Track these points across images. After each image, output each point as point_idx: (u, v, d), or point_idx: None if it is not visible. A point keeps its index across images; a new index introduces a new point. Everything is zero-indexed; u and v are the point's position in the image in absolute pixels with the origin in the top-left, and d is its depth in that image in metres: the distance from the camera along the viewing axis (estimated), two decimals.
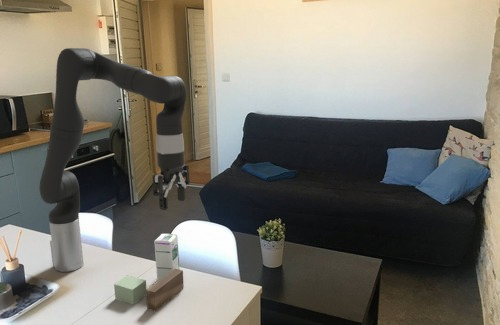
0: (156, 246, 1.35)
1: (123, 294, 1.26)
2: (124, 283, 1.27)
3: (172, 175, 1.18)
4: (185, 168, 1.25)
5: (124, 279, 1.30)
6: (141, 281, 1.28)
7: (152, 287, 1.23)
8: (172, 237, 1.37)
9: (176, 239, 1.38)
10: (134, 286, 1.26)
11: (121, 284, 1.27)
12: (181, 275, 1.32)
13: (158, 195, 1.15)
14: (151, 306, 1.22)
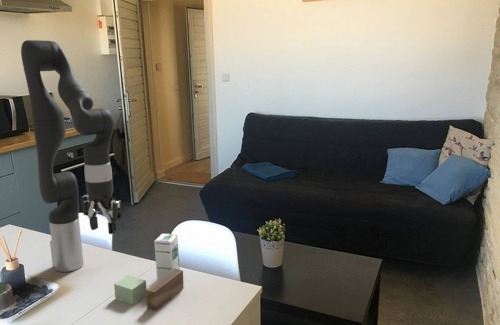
0: (156, 246, 1.35)
1: (122, 294, 1.26)
2: (124, 283, 1.27)
3: None
4: None
5: (124, 279, 1.30)
6: (141, 281, 1.28)
7: (152, 287, 1.23)
8: (172, 237, 1.37)
9: (176, 239, 1.38)
10: (134, 286, 1.26)
11: (121, 284, 1.27)
12: (181, 275, 1.32)
13: (119, 218, 1.25)
14: (151, 306, 1.22)
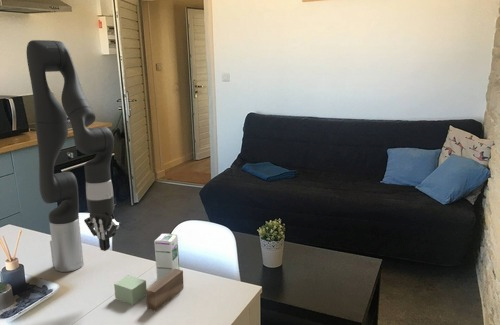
0: (156, 246, 1.35)
1: (122, 294, 1.26)
2: (124, 283, 1.27)
3: None
4: None
5: (124, 279, 1.30)
6: (141, 281, 1.28)
7: (152, 287, 1.23)
8: (172, 237, 1.37)
9: (176, 239, 1.38)
10: (134, 286, 1.26)
11: (121, 284, 1.27)
12: (181, 275, 1.32)
13: (112, 235, 1.28)
14: (151, 306, 1.22)
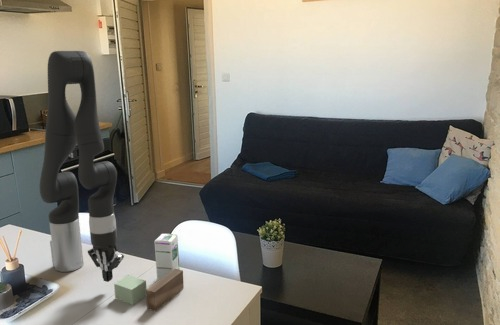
0: (156, 246, 1.35)
1: (122, 293, 1.26)
2: (124, 283, 1.27)
3: None
4: None
5: (124, 279, 1.30)
6: (141, 281, 1.28)
7: (152, 287, 1.23)
8: (172, 237, 1.37)
9: (176, 239, 1.38)
10: (133, 286, 1.26)
11: (121, 284, 1.27)
12: (181, 275, 1.32)
13: (115, 266, 1.30)
14: (151, 306, 1.22)
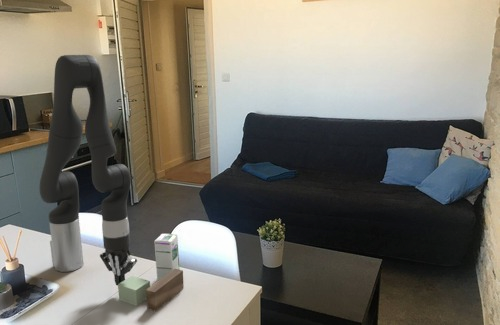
0: (156, 246, 1.35)
1: (126, 294, 1.26)
2: (128, 284, 1.27)
3: None
4: None
5: (128, 279, 1.29)
6: (145, 282, 1.28)
7: (152, 287, 1.23)
8: (172, 237, 1.37)
9: (176, 239, 1.38)
10: (137, 287, 1.25)
11: (124, 284, 1.26)
12: (181, 275, 1.32)
13: (128, 271, 1.28)
14: (151, 306, 1.22)
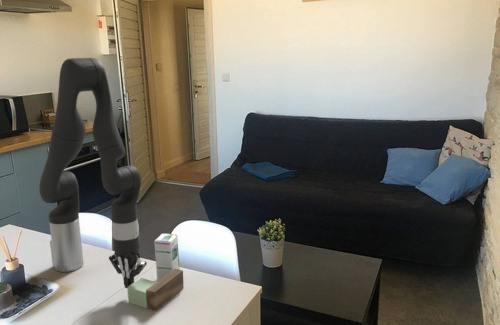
0: (156, 246, 1.35)
1: (136, 297, 1.24)
2: (138, 286, 1.25)
3: None
4: None
5: (137, 282, 1.28)
6: None
7: (152, 287, 1.23)
8: (172, 237, 1.37)
9: (176, 239, 1.38)
10: None
11: (134, 287, 1.25)
12: (181, 275, 1.32)
13: (137, 273, 1.27)
14: (151, 306, 1.22)
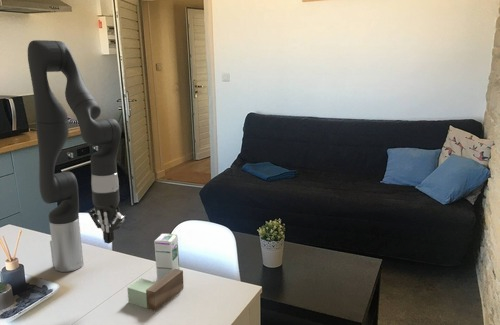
0: (156, 246, 1.35)
1: (136, 297, 1.24)
2: (138, 287, 1.25)
3: None
4: None
5: (137, 282, 1.28)
6: None
7: (152, 287, 1.23)
8: (172, 237, 1.37)
9: (176, 239, 1.38)
10: None
11: (134, 287, 1.25)
12: (181, 275, 1.32)
13: (117, 228, 1.26)
14: (151, 306, 1.22)
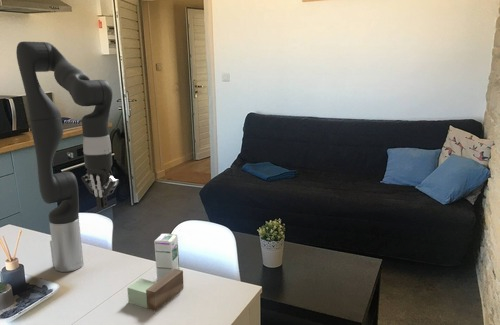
0: (156, 246, 1.35)
1: (136, 297, 1.24)
2: (138, 287, 1.25)
3: None
4: None
5: (137, 282, 1.28)
6: None
7: (152, 287, 1.23)
8: (172, 237, 1.37)
9: (176, 239, 1.38)
10: None
11: (134, 287, 1.25)
12: (181, 275, 1.32)
13: (110, 192, 1.24)
14: (151, 306, 1.22)
